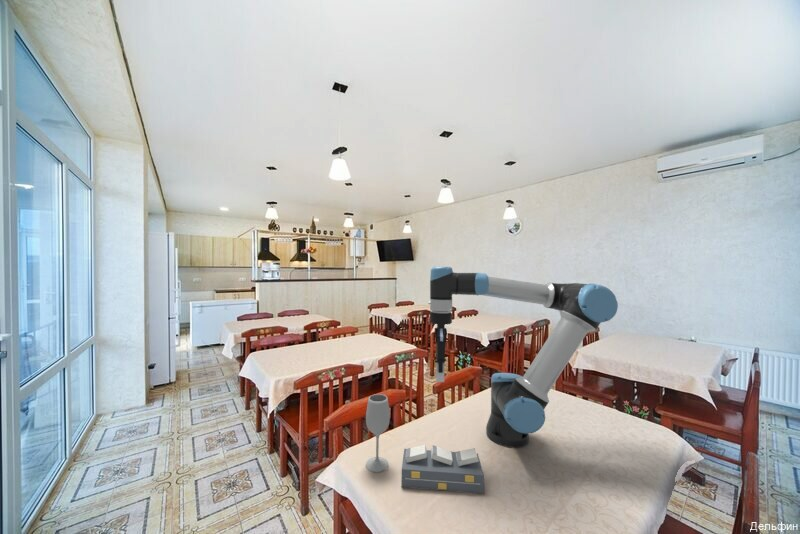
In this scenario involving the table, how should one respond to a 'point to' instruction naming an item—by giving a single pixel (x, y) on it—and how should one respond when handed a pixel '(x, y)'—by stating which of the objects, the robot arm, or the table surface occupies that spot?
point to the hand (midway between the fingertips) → (440, 381)
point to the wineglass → (377, 427)
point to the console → (442, 475)
